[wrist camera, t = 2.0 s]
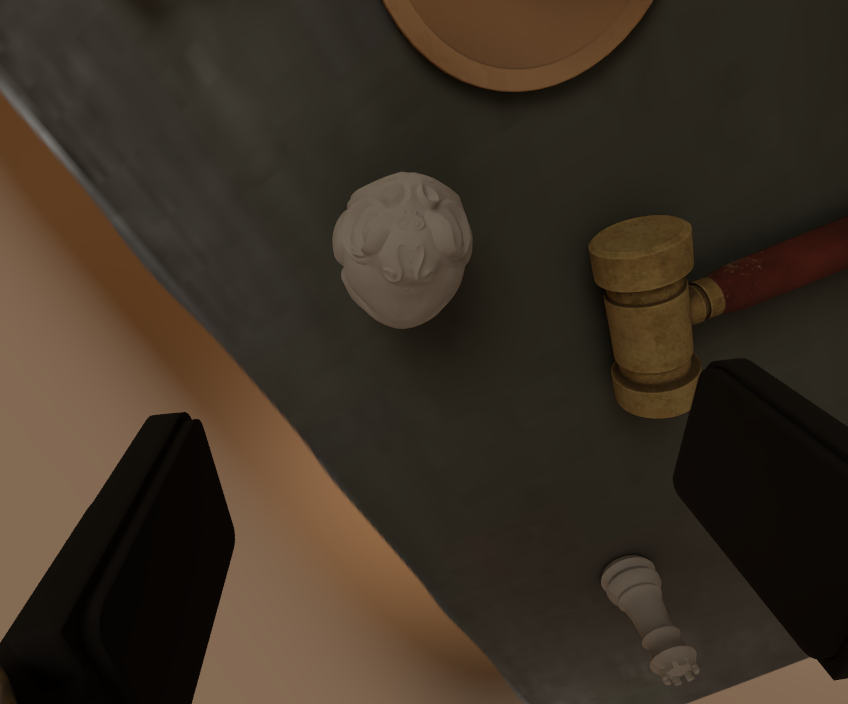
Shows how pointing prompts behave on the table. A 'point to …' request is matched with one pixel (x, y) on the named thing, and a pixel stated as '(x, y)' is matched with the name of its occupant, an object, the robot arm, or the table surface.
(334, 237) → the grey sculpted head
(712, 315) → the gavel
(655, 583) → the rook chess piece
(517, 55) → the coaster
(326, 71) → the table surface
